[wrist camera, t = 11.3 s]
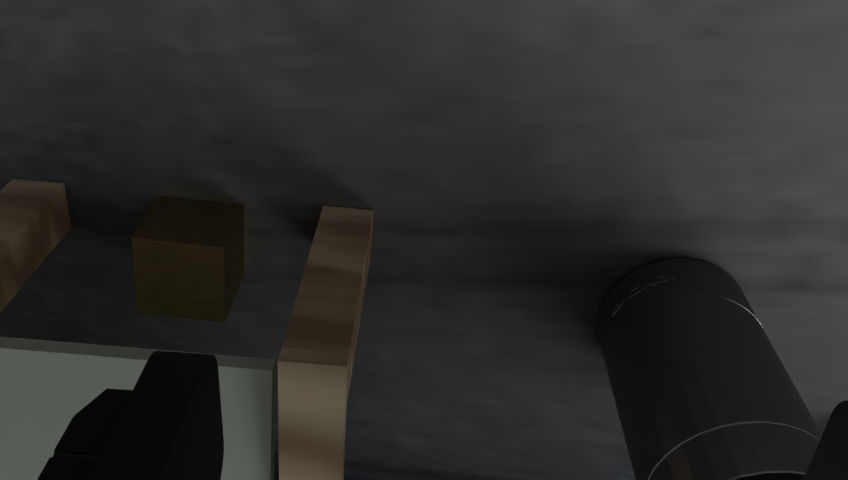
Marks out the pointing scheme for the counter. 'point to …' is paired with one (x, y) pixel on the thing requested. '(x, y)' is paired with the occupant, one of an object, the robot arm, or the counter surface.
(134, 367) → the trapdoor
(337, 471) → the trapdoor frame
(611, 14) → the counter surface
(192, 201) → the block
